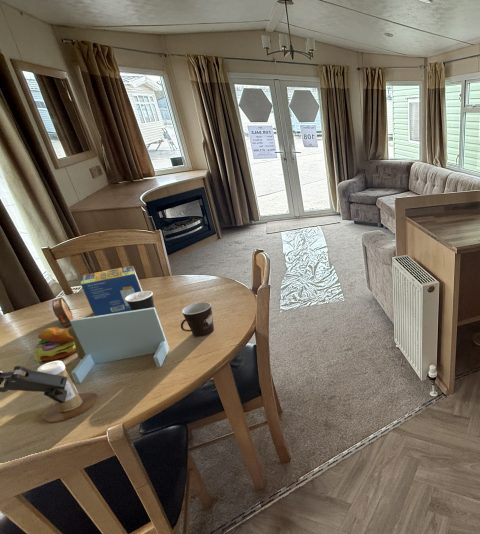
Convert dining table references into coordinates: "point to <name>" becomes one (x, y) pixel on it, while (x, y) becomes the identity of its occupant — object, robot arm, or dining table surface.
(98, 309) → the protein box
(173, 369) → the dining table surface
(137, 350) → the light blue standing panel
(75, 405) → the sprinkles bottle
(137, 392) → the dining table surface
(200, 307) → the coffee mug
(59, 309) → the tin
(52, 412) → the coaster
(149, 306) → the dixie cup
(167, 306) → the dining table surface
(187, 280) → the dining table surface
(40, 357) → the cheeseburger
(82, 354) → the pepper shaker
